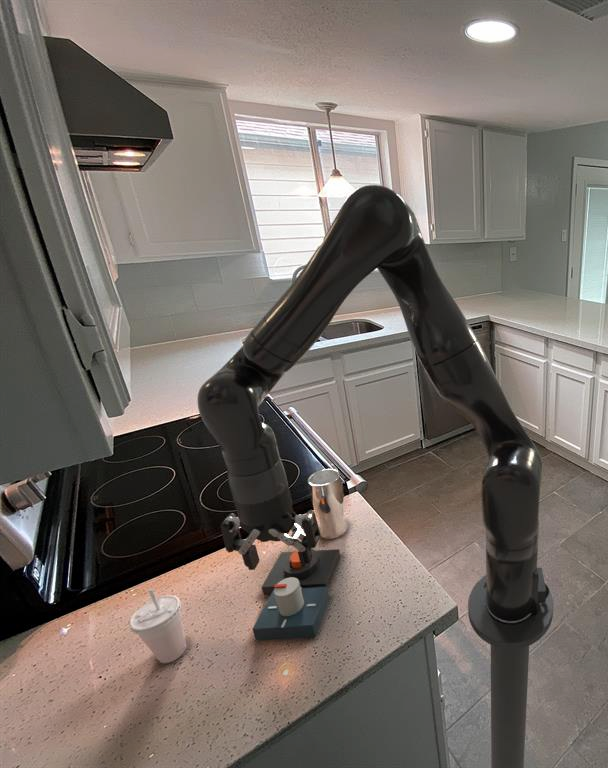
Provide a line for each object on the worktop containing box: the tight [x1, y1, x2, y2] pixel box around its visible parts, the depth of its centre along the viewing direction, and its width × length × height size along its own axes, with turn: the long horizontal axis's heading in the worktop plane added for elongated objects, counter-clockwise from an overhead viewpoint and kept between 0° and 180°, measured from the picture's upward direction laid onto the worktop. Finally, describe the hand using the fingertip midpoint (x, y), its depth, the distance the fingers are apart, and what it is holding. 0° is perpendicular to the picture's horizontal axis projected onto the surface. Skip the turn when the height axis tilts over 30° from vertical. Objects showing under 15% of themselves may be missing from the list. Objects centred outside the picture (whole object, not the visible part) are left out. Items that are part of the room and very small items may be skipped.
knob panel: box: [252, 587, 331, 642], centre depth 75 cm, size 10×8×3 cm
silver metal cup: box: [307, 468, 349, 540], centre depth 94 cm, size 7×7×15 cm
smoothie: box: [128, 587, 187, 664], centre depth 67 cm, size 6×6×14 cm
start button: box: [290, 549, 302, 569], centre depth 83 cm, size 4×4×2 cm
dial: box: [274, 577, 304, 616], centre depth 73 cm, size 4×4×5 cm
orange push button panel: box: [261, 548, 342, 596], centre depth 84 cm, size 12×9×4 cm
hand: (280, 564), depth 71 cm, fingers open, 8 cm apart
